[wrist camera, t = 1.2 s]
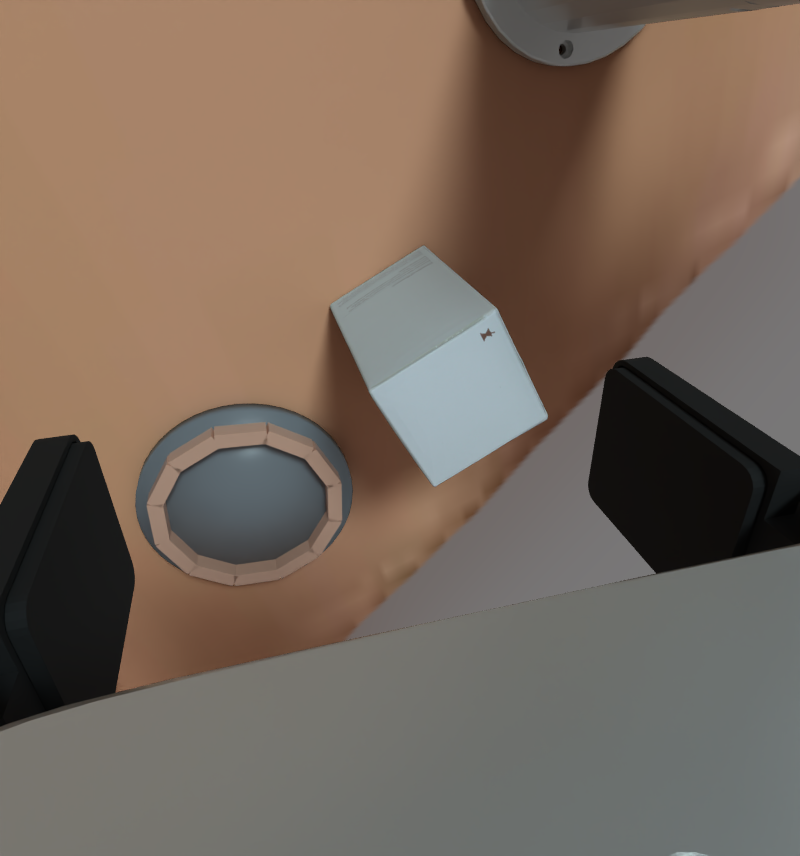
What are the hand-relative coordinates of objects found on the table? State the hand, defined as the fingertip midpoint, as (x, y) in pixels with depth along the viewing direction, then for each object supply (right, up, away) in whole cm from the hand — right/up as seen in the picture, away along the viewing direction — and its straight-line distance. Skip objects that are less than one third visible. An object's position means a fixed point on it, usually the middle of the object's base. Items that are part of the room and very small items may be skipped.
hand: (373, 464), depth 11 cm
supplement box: (+1, +8, +29) cm, 31 cm away
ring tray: (-11, -4, +33) cm, 35 cm away
